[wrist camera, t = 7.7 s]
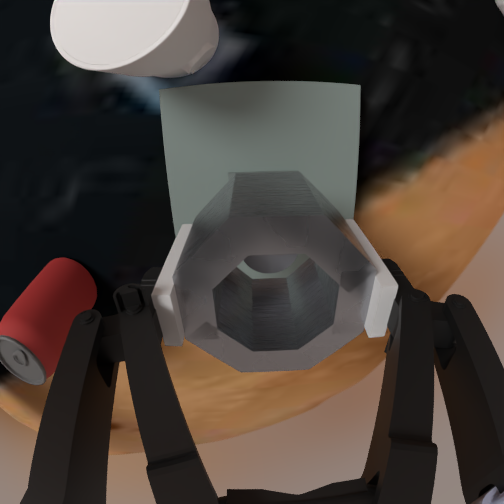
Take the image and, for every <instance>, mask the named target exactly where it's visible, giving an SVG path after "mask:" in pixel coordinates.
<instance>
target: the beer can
mask: <svg viewBox="0 0 504 504" xmlns="http://www.w3.org/2000/svg"><path fill="white" fill-rule="evenodd" d="M96 298H97V287H96V285H95V282H94V279H93V278H92V276H91V275H90V273H89V272H88V270H87V269H85V268H84V267H83V266H82V265H81V264H80V263H78V262H76V261H74V260H72V259H68V258H56V259H54V260H52V261H50V262H49V263H48V264H47V265H46V267H45V268H44V269H43V270H42V271H41V272H40V273H39V274H38V276H37V277H36V278H35V279H34V280H33V281H32V282H31V284H30V285H29V286H28V287H27V288H26V289H25V291H24V292H23V293H22V294H21V295H20V297H19V298H18V299H17V300H16V301H15V303H14V304H13V305H12V306H11V308H10V309H9V310H8V311H7V313H6V314H5V315H4V317H3V318H2V320H1V323H0V361H1V363H2V364H3V365H4V366H5V367H6V368H7V369H8V370H9V371H10V372H11V373H12V374H13V375H15V376H16V377H18V378H19V379H21V380H22V381H25V382H27V383H29V384H33V385H42V384H44V383H45V382H46V379H47V378H48V377H50V376H51V375H52V374H53V373H54V372H55V370H56V367H57V364H58V361H59V358H60V355H61V352H62V349H63V346H64V344H65V341H66V338H67V335H68V333H69V330H70V327H71V325H72V322H73V320H74V318H75V317H76V316H77V315H78V314H79V313H81V312H83V311H85V310H89V309H92V307H93V306H94V304H95V301H96Z"/></svg>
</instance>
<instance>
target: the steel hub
mask: <svg viewBox="0 0 504 504" xmlns="http://www.w3.org/2000/svg"><path fill="white" fill-rule="evenodd" d="M284 254H306V255H307V256H308V257H310V258H308V259H307V260H306V261H305V262H304V263H303V264H302V265H300V266H299V267H298V268H297V269H296V270H295V271H293V272H292V273H291V274H290V275H289V276H288V277H286V278H261V279H252V278H250V277H249V276H248V275H247V274H245V273H244V272H243V271H241V270H240V269H239V268H238V267H237V266H238V265H239V264H240V263H241V262H242V261H243V260H244V259H245V258H246V257H248V256H253V255H284ZM376 272H377V269H376V268H375V266H374V264H373V263H372V261H371V259H370V258H369V256H368V255H367V253H366V251H365V250H364V248H363V247H362V245H361V244H360V242H359V240H358V239H357V237H356V236H355V234H354V233H353V231H352V230H351V228H350V227H349V225H348V224H347V222H346V221H345V219H344V218H343V216H342V215H341V213H340V212H339V211H338V210H337V209H336V208H335V207H334V206H333V205H332V204H331V203H330V202H329V201H328V200H327V199H326V197H325V196H324V195H323V194H322V193H321V192H320V191H319V190H318V189H317V188H316V187H315V186H314V185H313V184H312V183H311V182H310V181H309V180H308V179H307V178H306V177H305V176H304V175H303V174H302V173H301V172H259V173H236V174H235V175H234V176H233V177H232V178H231V179H230V180H229V181H228V182H227V183H226V184H225V185H224V186H223V188H222V189H221V190H220V191H219V192H218V193H217V194H216V195H215V196H214V197H213V198H212V199H211V200H210V202H209V203H208V204H207V205H206V206H205V207H204V208H203V209H202V210H201V211H200V213H199V214H198V215H197V216H196V217H195V220H194V222H193V224H192V227H191V229H190V232H189V235H188V237H187V240H186V242H185V245H184V247H183V250H182V252H181V255H180V258H179V260H178V263H177V266H176V268H175V271H174V274H173V276H172V278H173V283H174V286H175V291H176V296H177V301H178V305H179V310H180V315H181V319H182V324H183V328H184V332H185V339H186V340H188V341H190V342H191V343H193V344H194V345H196V346H198V347H199V348H201V349H202V350H204V351H206V352H207V353H209V354H211V355H212V356H214V357H216V358H217V359H219V360H221V361H222V362H224V363H226V364H228V365H229V366H231V367H233V368H234V369H236V370H238V371H240V372H269V371H290V370H305V369H310V368H312V367H313V366H315V365H316V364H318V363H319V362H321V361H322V360H324V359H325V358H327V357H328V356H330V355H331V354H332V353H334V352H335V351H337V350H338V349H340V348H341V347H343V346H344V345H345V344H347V343H348V342H350V341H351V340H352V339H354V338H355V337H357V336H358V335H359V334H361V333H362V332H363V330H364V325H365V321H366V317H367V313H368V308H369V304H370V299H371V295H372V290H373V285H374V280H375V276H376Z"/></svg>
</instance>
